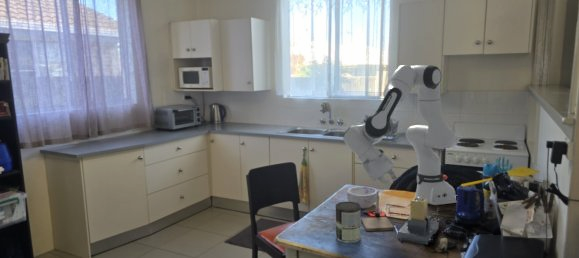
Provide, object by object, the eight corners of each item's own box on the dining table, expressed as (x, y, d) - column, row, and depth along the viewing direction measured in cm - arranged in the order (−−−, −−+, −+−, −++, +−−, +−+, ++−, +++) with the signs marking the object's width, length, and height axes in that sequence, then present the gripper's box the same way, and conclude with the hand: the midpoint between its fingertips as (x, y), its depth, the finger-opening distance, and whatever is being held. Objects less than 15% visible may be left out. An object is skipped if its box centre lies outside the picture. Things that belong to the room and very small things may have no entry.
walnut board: (386, 219, 190) (386, 217, 190) (394, 229, 178) (394, 227, 178) (360, 220, 190) (360, 218, 189) (366, 231, 178) (366, 228, 178)
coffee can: (331, 239, 171) (330, 206, 169) (344, 230, 179) (343, 199, 176) (352, 245, 164) (352, 211, 162) (365, 236, 172) (365, 204, 170)
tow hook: (367, 212, 201) (368, 218, 192) (367, 186, 200) (368, 191, 190) (385, 212, 200) (386, 219, 191) (385, 187, 198) (387, 192, 189)
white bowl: (341, 205, 210) (341, 190, 209) (359, 198, 220) (359, 184, 219) (365, 213, 199) (365, 197, 198) (383, 205, 209) (383, 190, 208)
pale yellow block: (414, 214, 176) (414, 196, 175) (427, 216, 173) (427, 198, 172) (410, 218, 172) (410, 200, 170) (423, 221, 169) (424, 202, 167)
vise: (410, 223, 184) (411, 189, 182) (438, 228, 178) (439, 193, 175) (397, 238, 169) (398, 201, 167) (427, 244, 163) (428, 206, 160)
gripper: (366, 158, 170) (389, 184, 166) (383, 148, 187) (404, 172, 183) (356, 167, 173) (378, 193, 169) (374, 157, 190) (395, 180, 186)
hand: (392, 182), depth 176 cm, fingers open, 8 cm apart
